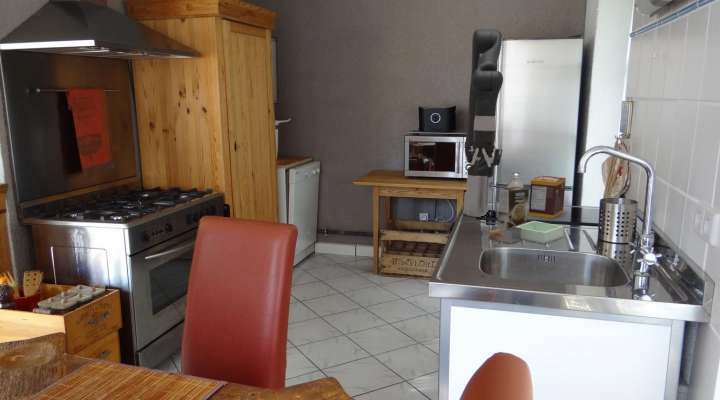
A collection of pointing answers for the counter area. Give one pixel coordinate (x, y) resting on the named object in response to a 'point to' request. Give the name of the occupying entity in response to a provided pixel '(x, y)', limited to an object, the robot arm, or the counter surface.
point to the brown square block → (497, 235)
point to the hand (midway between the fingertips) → (482, 176)
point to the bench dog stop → (512, 235)
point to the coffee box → (512, 207)
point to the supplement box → (547, 196)
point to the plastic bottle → (515, 181)
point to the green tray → (540, 232)
